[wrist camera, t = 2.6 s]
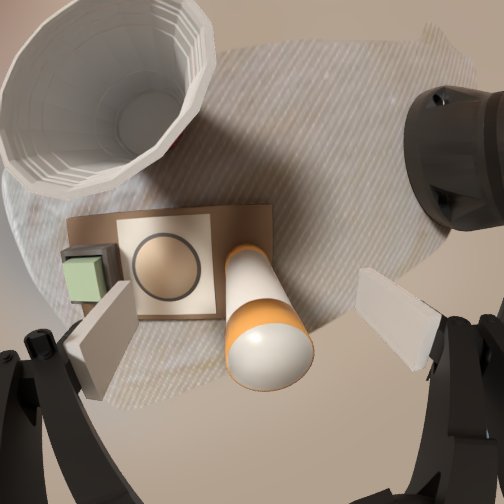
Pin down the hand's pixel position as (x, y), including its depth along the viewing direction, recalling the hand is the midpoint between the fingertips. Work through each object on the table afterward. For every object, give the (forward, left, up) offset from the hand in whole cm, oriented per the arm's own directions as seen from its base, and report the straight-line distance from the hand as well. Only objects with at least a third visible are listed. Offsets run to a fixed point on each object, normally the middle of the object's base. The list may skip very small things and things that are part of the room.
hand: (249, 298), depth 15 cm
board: (+6, 0, -8) cm, 10 cm away
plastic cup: (+7, -11, -8) cm, 15 cm away
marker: (0, 0, -7) cm, 7 cm away
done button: (+12, 0, -6) cm, 13 cm away
